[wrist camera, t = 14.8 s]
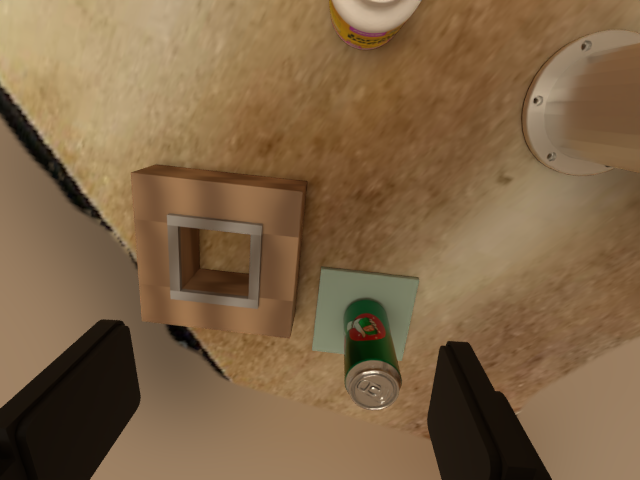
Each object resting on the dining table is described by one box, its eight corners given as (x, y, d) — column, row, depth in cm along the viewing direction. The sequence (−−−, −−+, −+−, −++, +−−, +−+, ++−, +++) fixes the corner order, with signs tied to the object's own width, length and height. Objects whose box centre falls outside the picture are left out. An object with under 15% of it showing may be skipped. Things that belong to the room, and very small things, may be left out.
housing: (307, 181, 39) (302, 193, 33) (295, 313, 44) (289, 341, 39) (155, 164, 39) (127, 173, 34) (162, 298, 44) (139, 324, 39)
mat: (418, 277, 42) (419, 279, 41) (400, 357, 46) (401, 360, 45) (321, 266, 42) (321, 268, 41) (312, 347, 46) (312, 350, 45)
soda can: (372, 341, 44) (383, 422, 33) (335, 322, 44) (334, 398, 32) (395, 309, 43) (415, 383, 31) (357, 289, 42) (364, 357, 31)
